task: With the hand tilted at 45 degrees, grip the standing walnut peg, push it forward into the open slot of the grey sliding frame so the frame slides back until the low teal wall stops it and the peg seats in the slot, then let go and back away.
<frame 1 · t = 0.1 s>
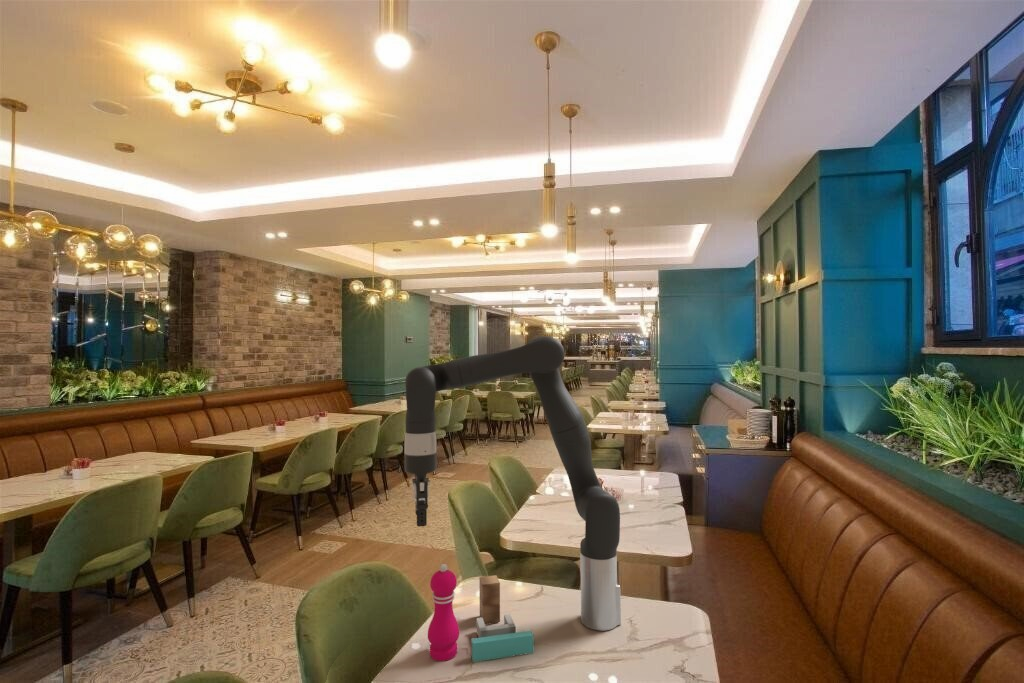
hand: (420, 520, 116), 29 cm above the table, tool pointing down, fingers open, 8 cm apart
frame: (495, 628, 119), point 2 cm above the table, slide at 0.0 cm
peg: (489, 619, 127), on the table
wall: (502, 654, 112), on the table
pepper mill: (443, 653, 113), on the table
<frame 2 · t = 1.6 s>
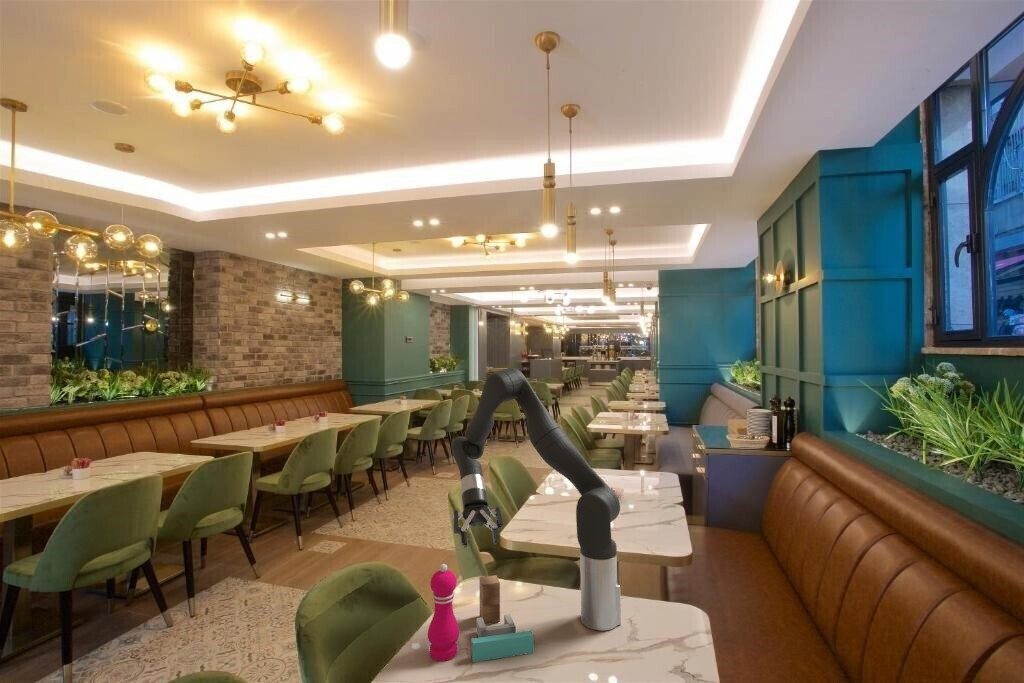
hand: (480, 544, 139), 15 cm above the table, tool tilted 45°, fingers open, 8 cm apart
nothing on the table moved.
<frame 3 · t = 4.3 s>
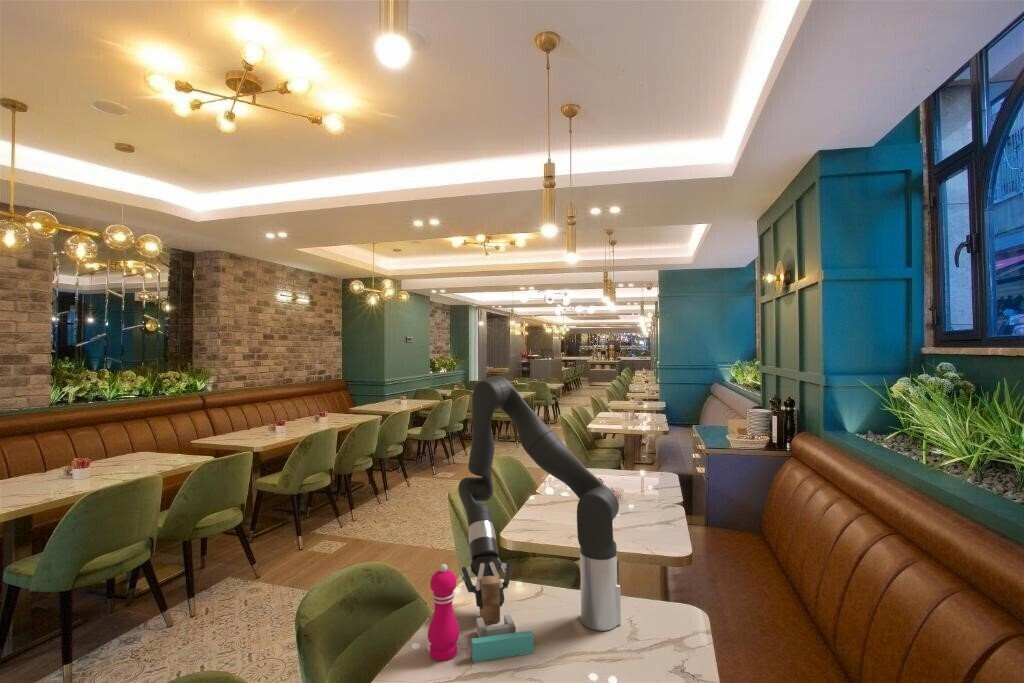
hand: (491, 606, 126), 4 cm above the table, tool tilted 45°, fingers closed on peg, 4 cm apart
peg: (489, 619, 127), on the table, touching gripper
everything else where it was.
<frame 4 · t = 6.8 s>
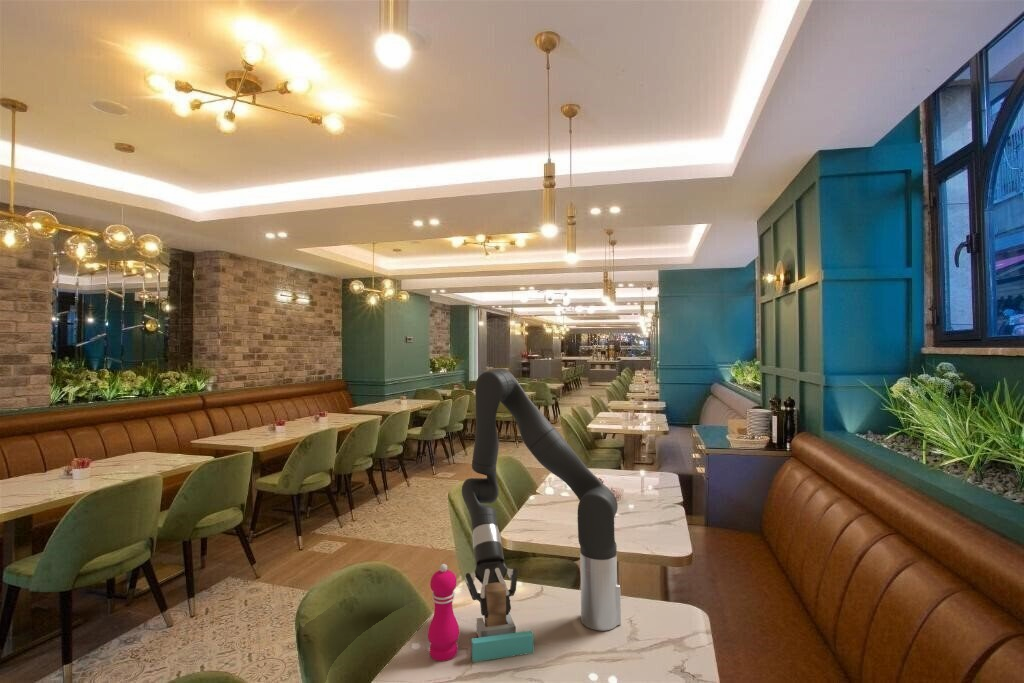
hand: (496, 615, 118), 5 cm above the table, tool tilted 45°, fingers closed on peg, 4 cm apart
frame: (495, 628, 119), point 2 cm above the table, slide at 0.0 cm, touching peg
peg: (495, 628, 120), point 1 cm above the table, touching frame, gripper
everything else where it was.
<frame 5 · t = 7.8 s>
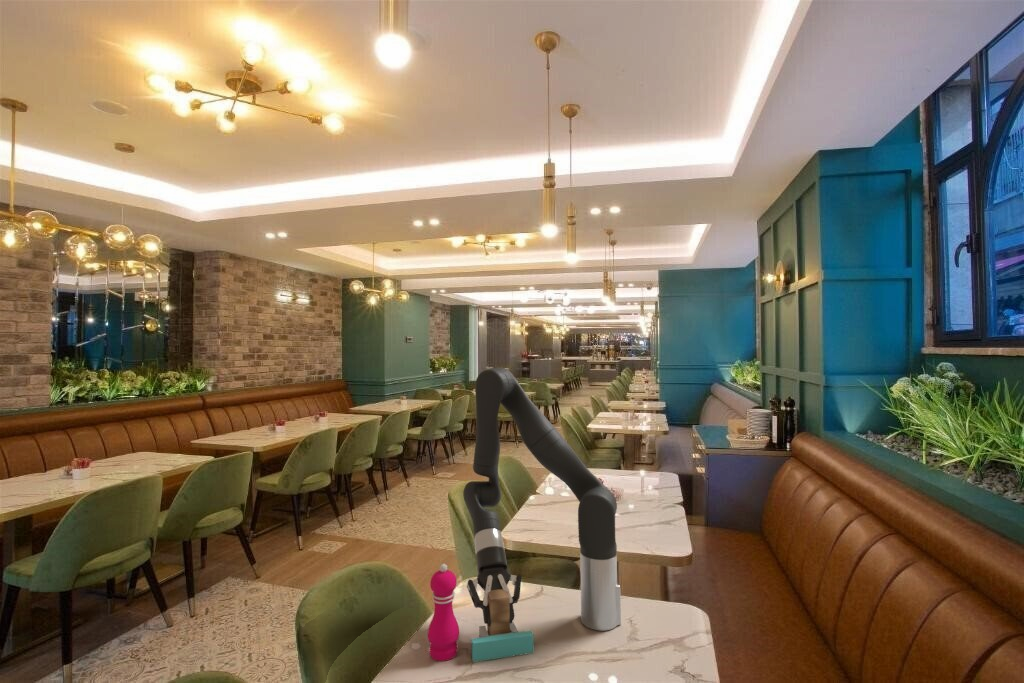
hand: (500, 623, 115), 5 cm above the table, tool tilted 45°, fingers closed on peg, 4 cm apart
frame: (498, 637, 116), point 2 cm above the table, slide at 3.8 cm, touching peg
peg: (498, 636, 116), point 1 cm above the table, touching frame, gripper
everything else where it was.
when the fingers open (5 cm above the table, at t = 9.1 s): peg drops 1 cm, on the table.
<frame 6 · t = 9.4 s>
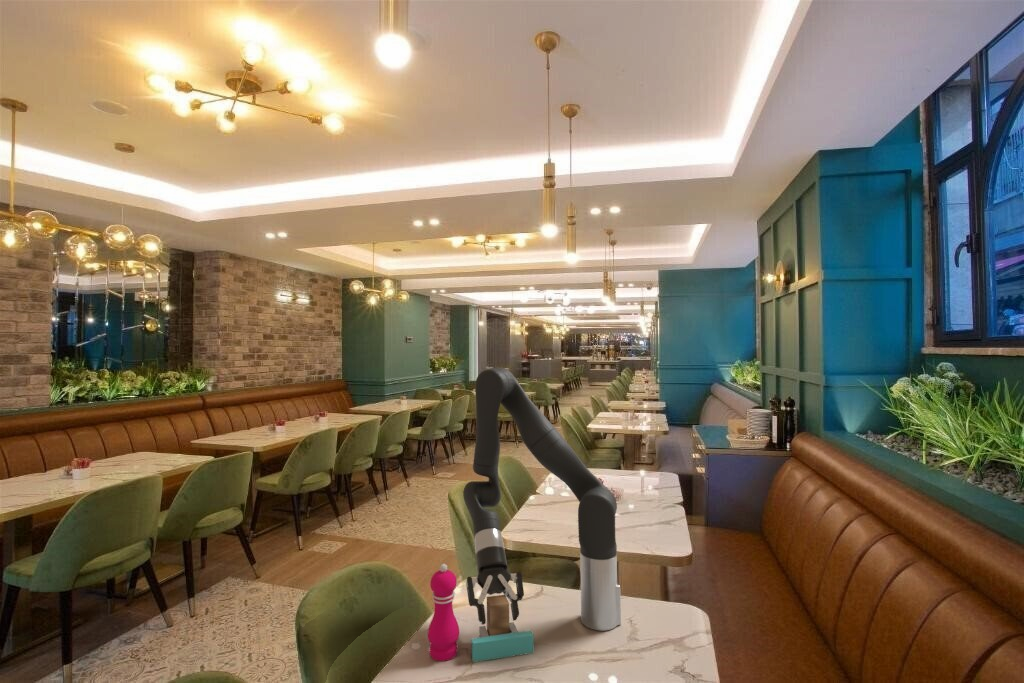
hand: (499, 621, 115), 6 cm above the table, tool tilted 45°, fingers open, 7 cm apart
frame: (499, 637, 116), point 2 cm above the table, slide at 3.9 cm
peg: (498, 643, 116), on the table
everything else where it was.
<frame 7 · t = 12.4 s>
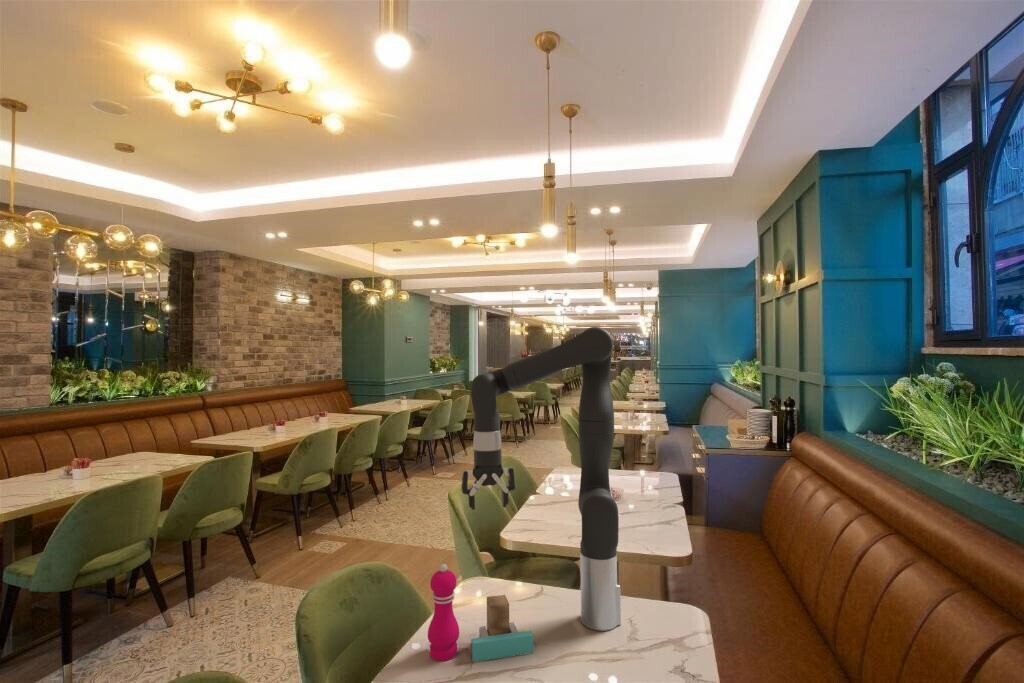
hand: (488, 507, 133), 27 cm above the table, tool pointing down, fingers open, 8 cm apart
nothing on the table moved.
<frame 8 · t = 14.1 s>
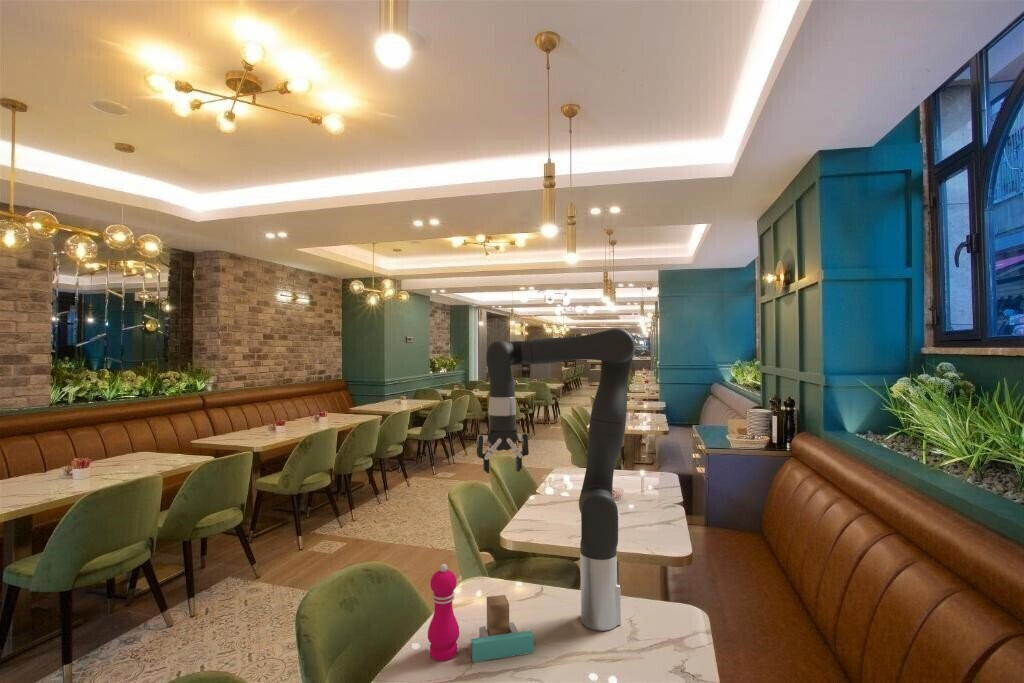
hand: (502, 472, 136), 36 cm above the table, tool pointing down, fingers open, 8 cm apart
nothing on the table moved.
at the end: peg 0.2 cm from the target spot, on the table; frame slide at 3.9 cm; peg tilted 0° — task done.
